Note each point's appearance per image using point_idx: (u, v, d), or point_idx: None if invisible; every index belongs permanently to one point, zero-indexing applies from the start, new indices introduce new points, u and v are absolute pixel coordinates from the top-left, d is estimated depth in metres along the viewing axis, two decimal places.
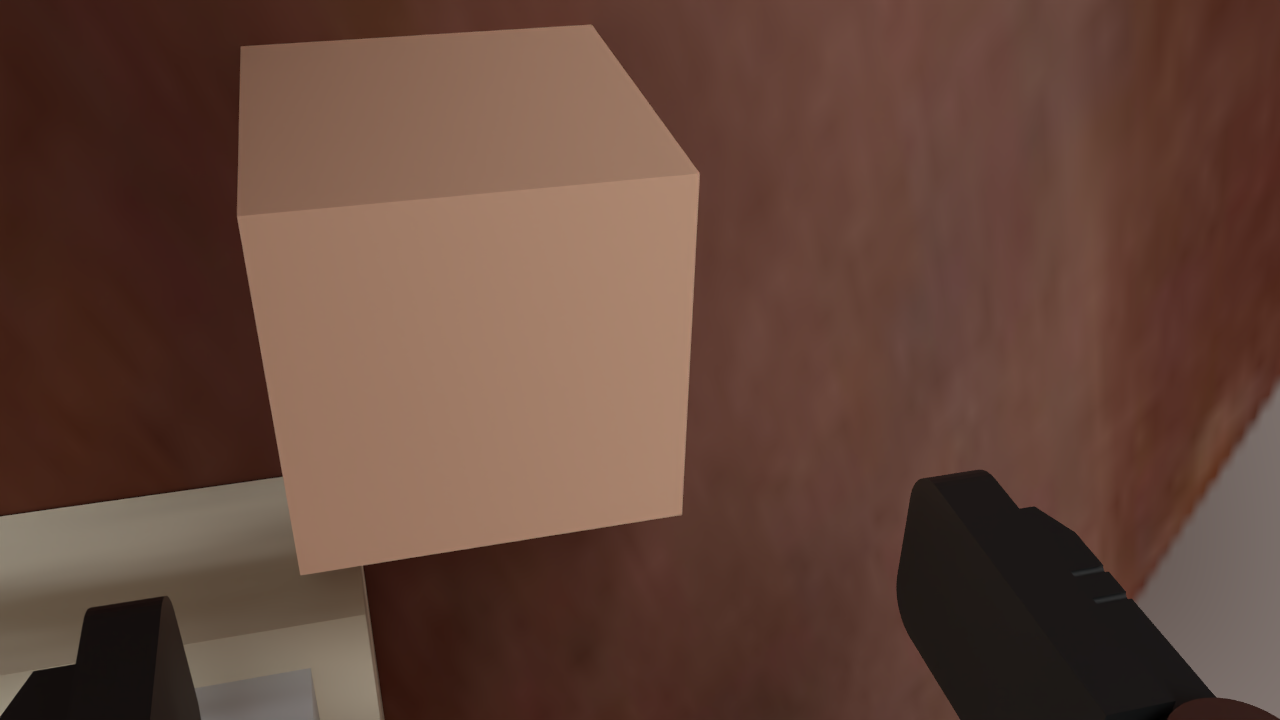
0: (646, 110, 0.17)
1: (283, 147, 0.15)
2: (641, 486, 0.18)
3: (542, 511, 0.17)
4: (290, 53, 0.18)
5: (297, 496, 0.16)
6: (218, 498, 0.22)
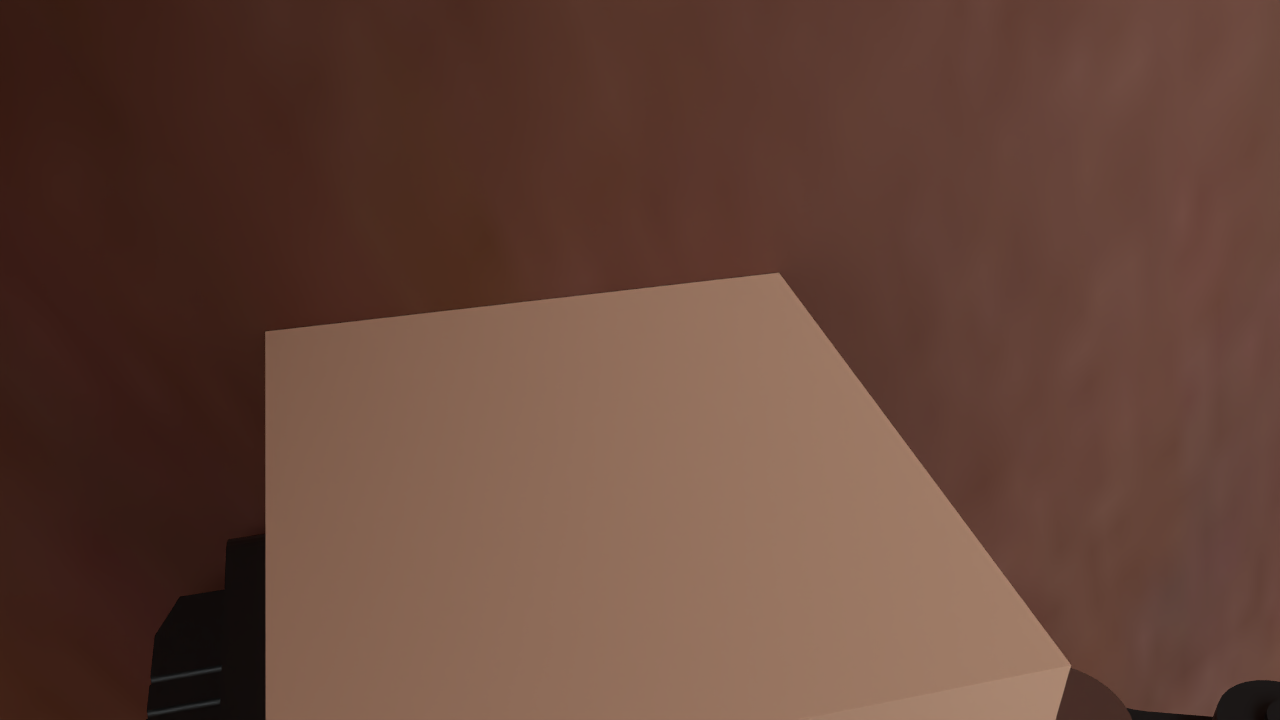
0: (923, 483, 0.10)
1: (343, 600, 0.09)
2: None
3: None
4: (341, 348, 0.12)
5: None
6: None
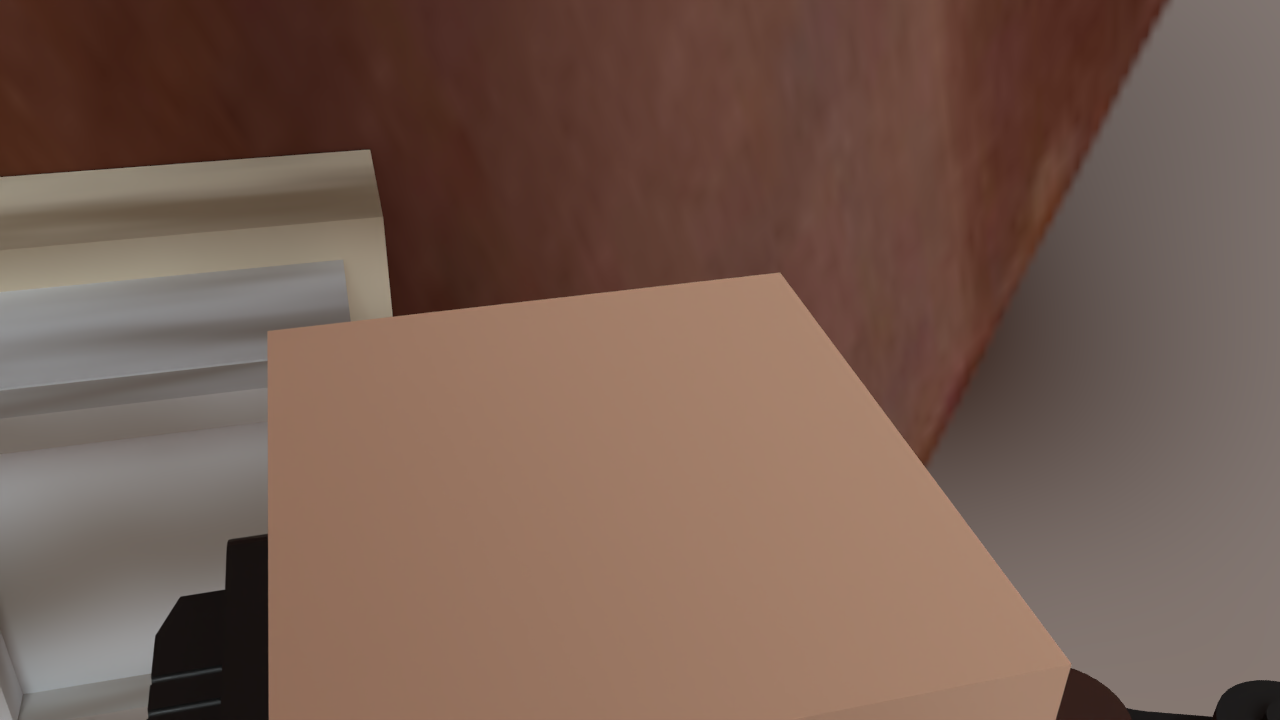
0: (924, 483, 0.10)
1: (344, 598, 0.09)
2: None
3: None
4: (344, 347, 0.12)
5: None
6: (273, 162, 0.30)
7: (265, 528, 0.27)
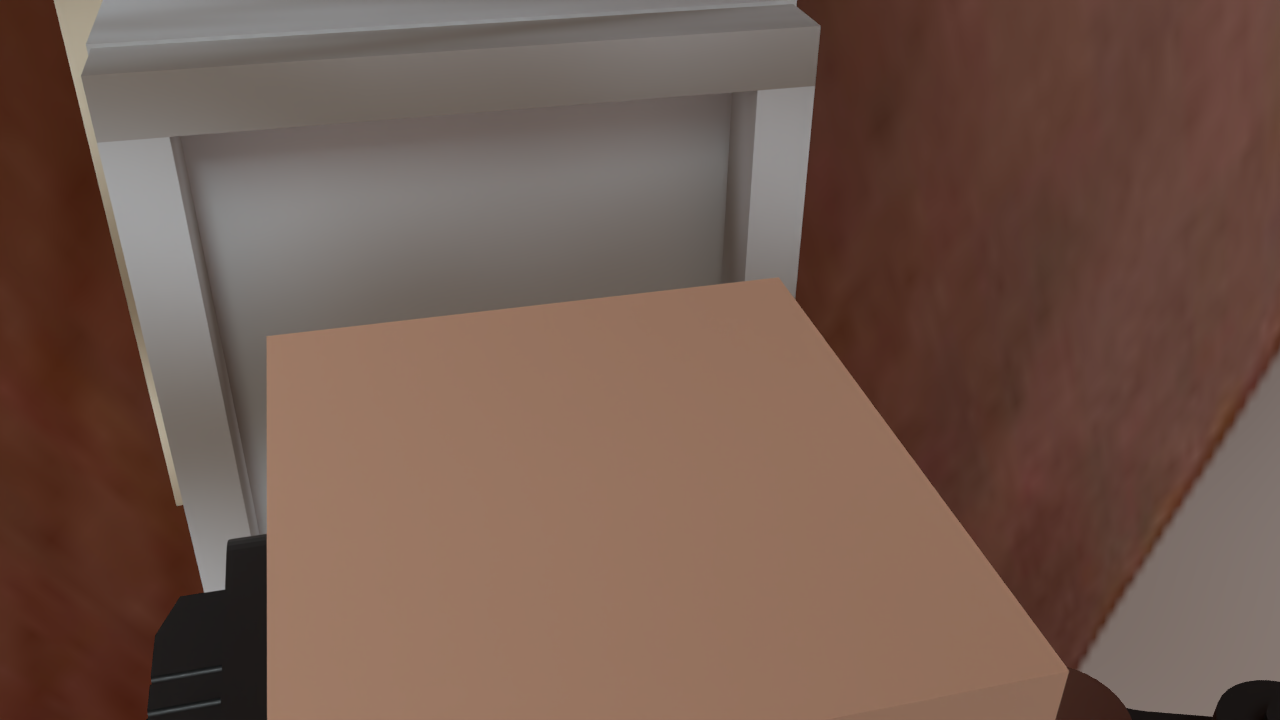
0: (923, 489, 0.10)
1: (344, 604, 0.09)
2: None
3: None
4: (343, 353, 0.12)
5: None
6: None
7: None
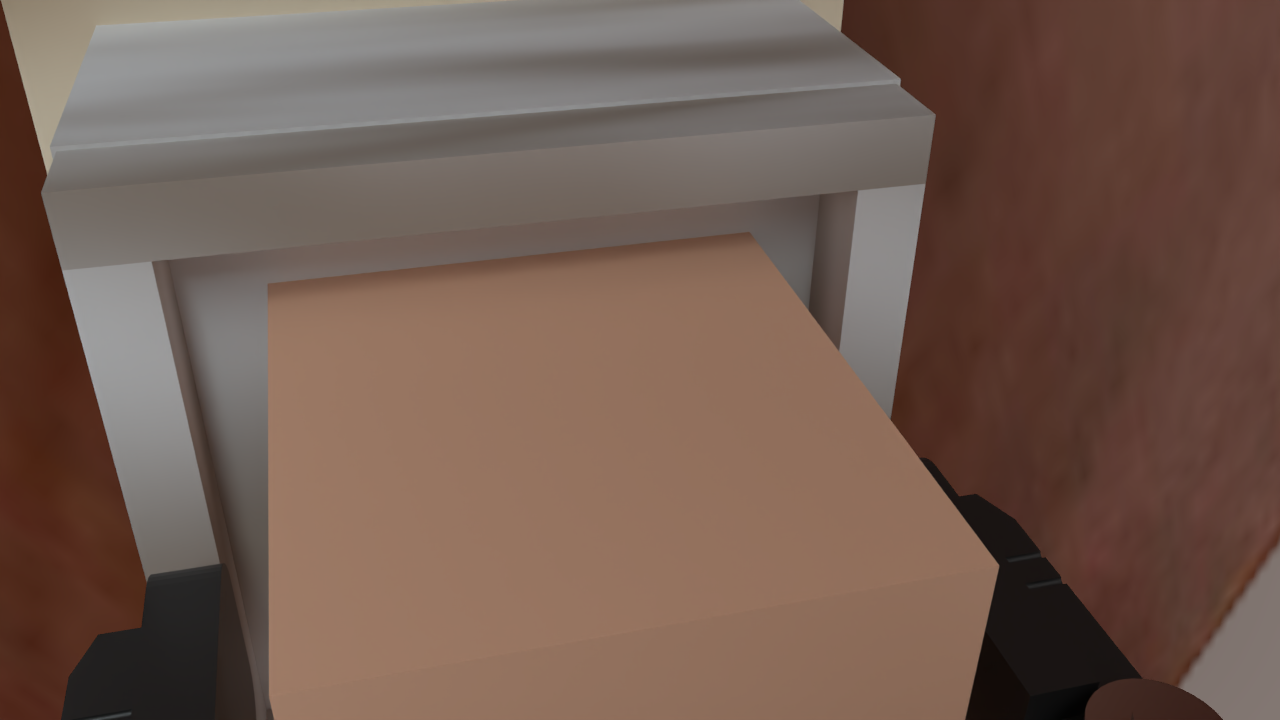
0: (874, 414, 0.11)
1: (337, 511, 0.10)
2: None
3: None
4: (339, 298, 0.13)
5: None
6: None
7: None
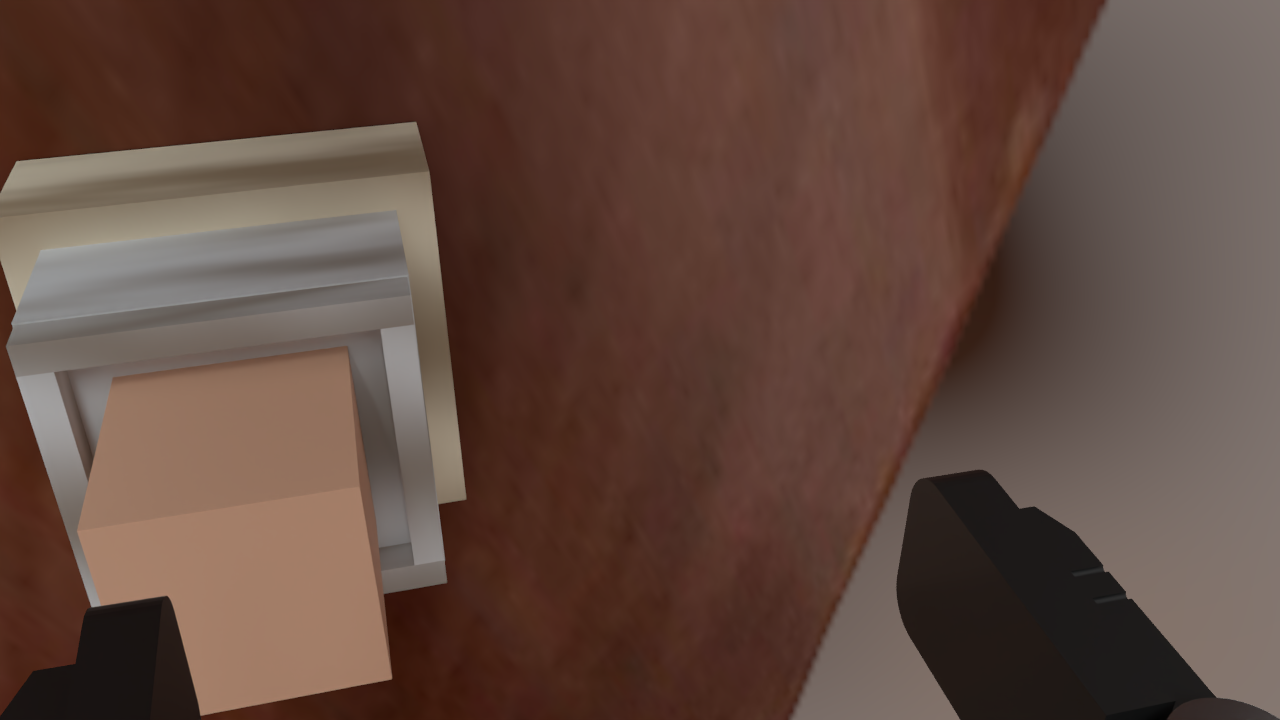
0: (350, 430, 0.27)
1: (117, 472, 0.26)
2: (360, 663, 0.28)
3: (295, 681, 0.27)
4: (142, 384, 0.29)
5: None
6: (334, 134, 0.35)
7: None
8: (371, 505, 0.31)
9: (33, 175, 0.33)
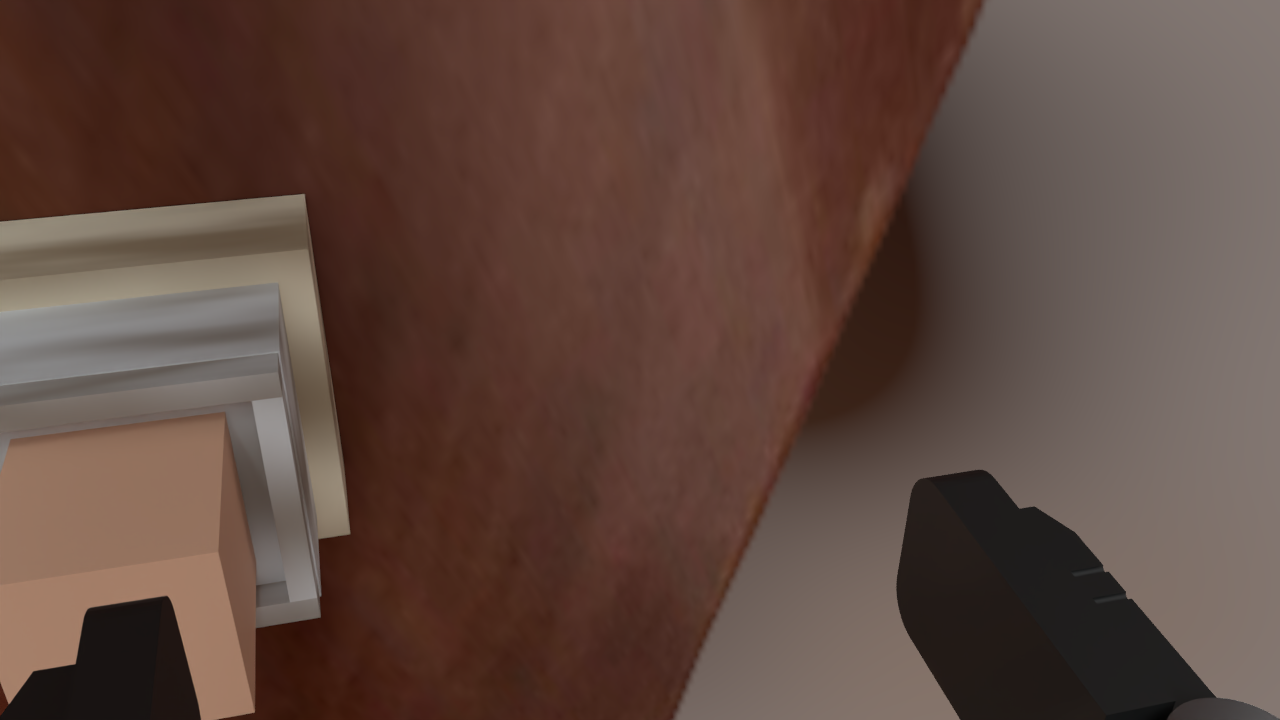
0: (216, 497, 0.31)
1: (6, 533, 0.29)
2: (225, 699, 0.31)
3: None
4: (37, 446, 0.32)
5: None
6: (227, 205, 0.39)
7: None
8: (247, 552, 0.35)
9: None
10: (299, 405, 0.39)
